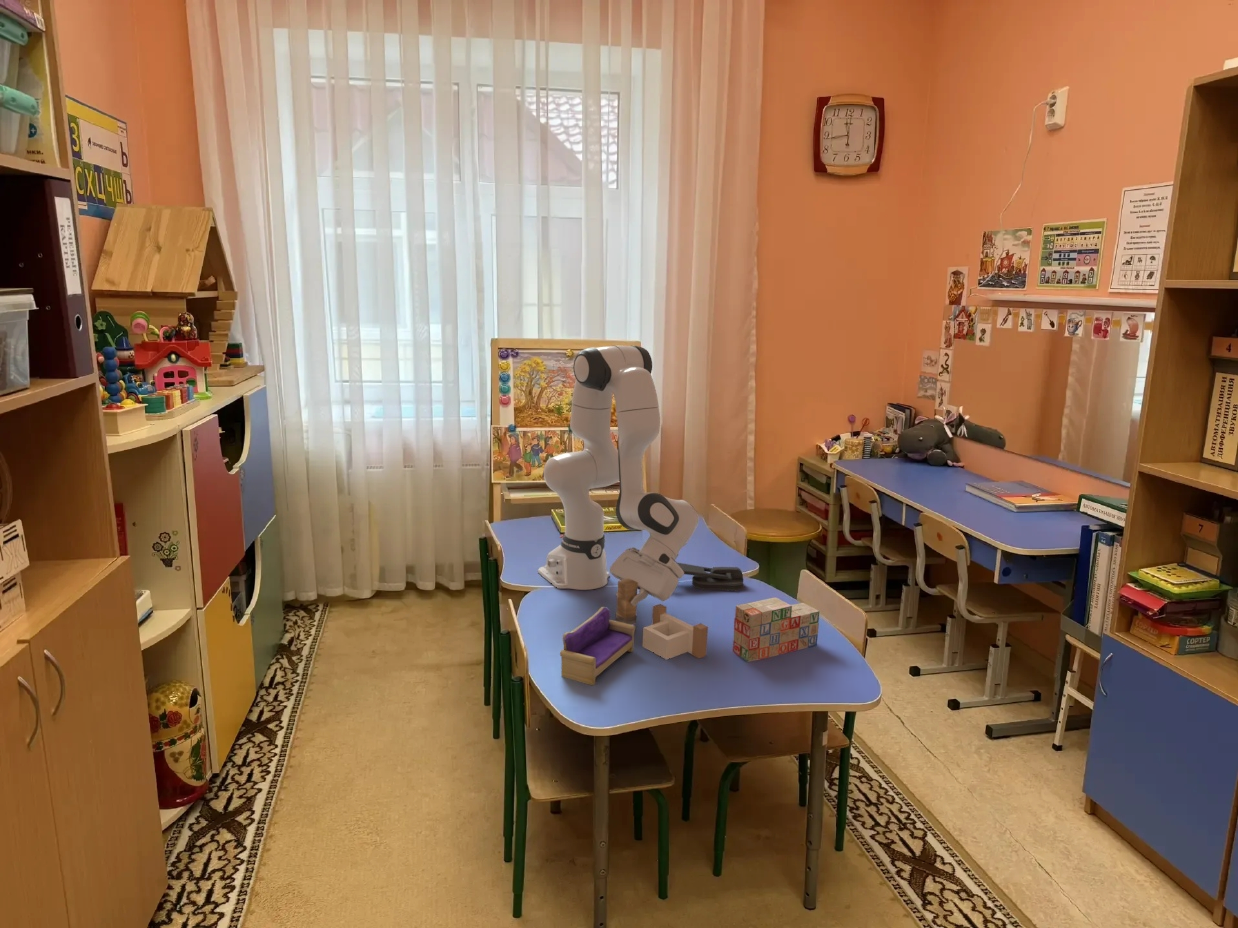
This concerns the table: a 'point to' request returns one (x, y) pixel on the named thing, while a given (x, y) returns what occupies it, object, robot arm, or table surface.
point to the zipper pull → (714, 577)
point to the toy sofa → (594, 646)
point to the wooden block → (626, 601)
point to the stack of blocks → (773, 628)
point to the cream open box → (674, 636)
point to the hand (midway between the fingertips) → (625, 601)
